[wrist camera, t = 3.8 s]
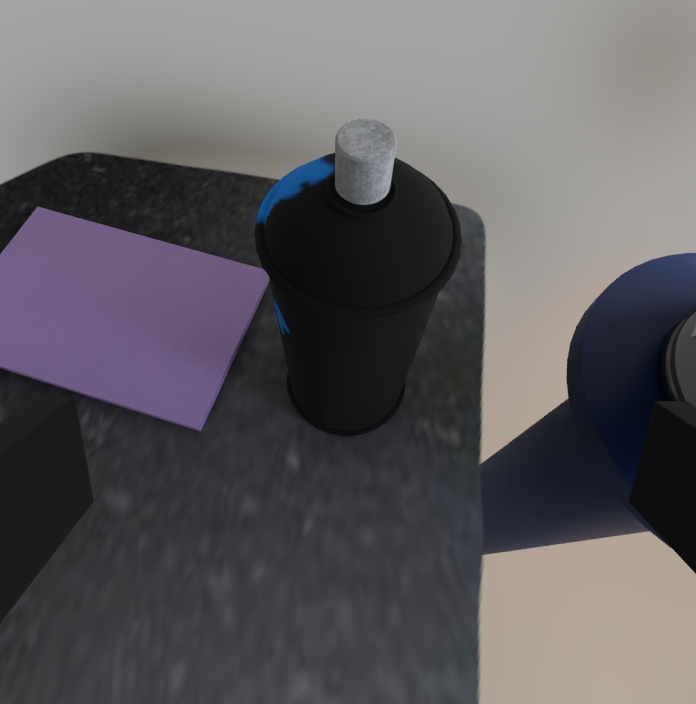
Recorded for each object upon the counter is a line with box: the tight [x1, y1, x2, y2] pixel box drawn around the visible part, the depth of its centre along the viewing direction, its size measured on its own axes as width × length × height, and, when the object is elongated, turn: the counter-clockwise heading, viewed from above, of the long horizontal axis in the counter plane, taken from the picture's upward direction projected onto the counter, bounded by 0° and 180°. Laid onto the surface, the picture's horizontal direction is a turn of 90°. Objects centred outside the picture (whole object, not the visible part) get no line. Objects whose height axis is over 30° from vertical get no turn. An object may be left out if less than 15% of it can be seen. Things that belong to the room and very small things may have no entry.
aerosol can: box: [255, 119, 462, 436], centre depth 24 cm, size 8×8×20 cm
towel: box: [0, 207, 270, 432], centre depth 34 cm, size 20×13×1 cm, turn 73°
